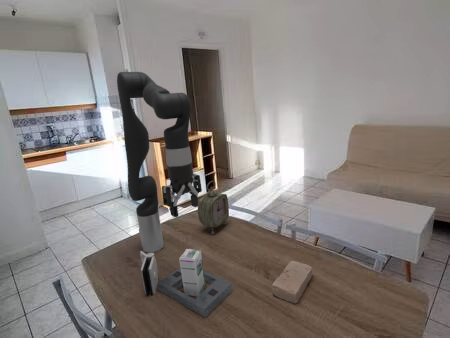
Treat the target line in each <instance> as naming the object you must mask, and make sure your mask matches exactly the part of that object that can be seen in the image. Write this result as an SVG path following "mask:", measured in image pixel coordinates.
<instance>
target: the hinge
mask: <svg viewBox="0 0 450 338" xmlns="http://www.w3.org/2000/svg"><path fill="white" fill-rule="evenodd" d="M139 254H140V260H141V268H140V274H141V280H142V284H143V286H142V287H143V291H144V295H146V297H149V295H150V297H153V295H155V294H156V292H157V287H158V282H159V275H158V274H159V271H158V270H159V269H158V264H157V259H156V257H155V252H150V253H149V252H147V253H146V252H145V251H143V250H140V251H139Z"/></svg>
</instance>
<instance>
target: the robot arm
mask: <svg viewBox="0 0 450 338" xmlns="http://www.w3.org/2000/svg"><path fill="white" fill-rule="evenodd" d="M116 84H117V93H118V100H119V103H120V110H121V115H122V117H121V118H122V125H123V126H122V128H123V139H124V140H123V141H124V148H125V155H126V164H127V167H126V168H127V187H128V188H127V191H128V194H129V197H130V198H131V201H134V202H138V201H142V202H141V203H140V204H139V205H138V206H137V207H136V210H135V213H136V217H137V222H138V232H139V239H140V244H141V248H142V251H143V252H144V253H156V252H158V251H160V250H161V249H163V247H164V239H163V237H164V236H163V233H162V232H163V231H162V225H161V218H160V212H159V211H160V210H159V197H158V187H157V183H156V180H155V178H154V177H153V176H151V175H146V176H142V177H141V176H140V173H141V169H142V165H143V163H144V162H145V160H146V157H147V156H148V153H149V151H150V138H149V137H150V134H149V131H148V130H147V127H146V126H145V125H144V123H143V122H142V120H141V119H140V118H139V117H138V115H137V114H136V113H135V111H134V109H133V105H132V101H131V99H141V98H142V99H143V100H144V102H145V104H146V105H148V106H149V107H151V108H152V109H153V112H154V115H155V116H156V117H157V118H158V119H160V120H174V119H176V121H175V123H174V125H172V126H170V127H167V128H165V129H164V130H163V139H164V146H165V148H164V149H165V161H166V162H165V163H166V168H167V176H168V179H169V180H170V183H169V185H162V186H161V195H162V205H163V206H166V207H169V212H170V215H171V216H172V217H174V218H179V211H178V209H179V208H178V205H177V204H178V202H179V201H180V199H181V197H182V196H184V195H185V194H188V193H189V194H190V203H191V207H194V208H198V200H199V198H198V197H199V193H202V191H203V189H202V183H201V181H202V180H201V175H200V174H195V173H194V170H193V169H194V167H193V159H192V151H191V148H190V140H189V125H190V121H191V120H190V119H191V113H192V102H191V99H190V97H189V96H188V94H186V93H185V92H174V93H173V92H170V91H169V90H168V89H167V88H164V87H162V85H161V86H160V85H158V84H157V83H156V82H155V81H154V80H153V79H152V78H151V77H150V76H149V75H148V74H146V73H144V72H142V71H119V72H118V73H117V76H116Z"/></svg>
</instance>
